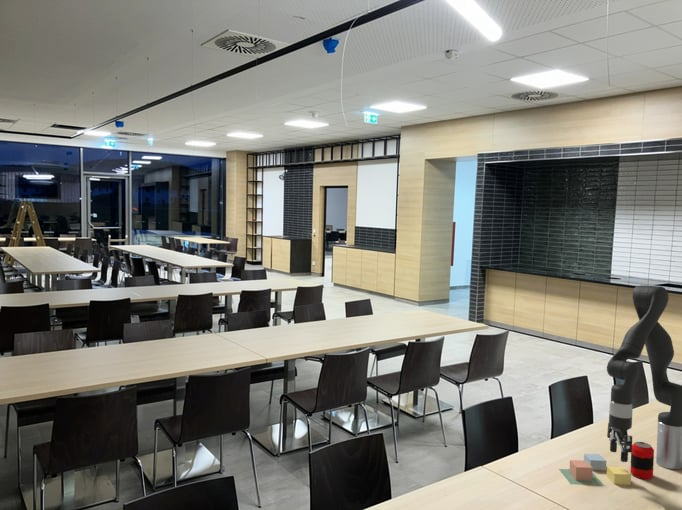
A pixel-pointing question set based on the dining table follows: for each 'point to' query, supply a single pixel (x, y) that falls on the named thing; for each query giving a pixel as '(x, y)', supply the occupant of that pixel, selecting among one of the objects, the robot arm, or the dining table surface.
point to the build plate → (572, 481)
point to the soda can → (642, 460)
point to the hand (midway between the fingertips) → (618, 456)
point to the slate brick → (595, 461)
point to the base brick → (581, 470)
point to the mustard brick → (618, 475)
